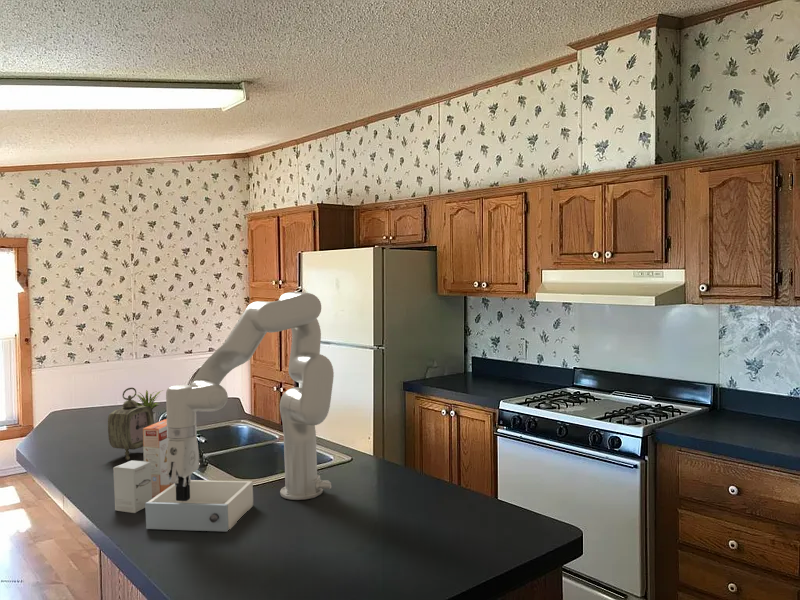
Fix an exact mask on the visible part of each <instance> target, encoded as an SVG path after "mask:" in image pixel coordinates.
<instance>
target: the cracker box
mask: <svg viewBox="0 0 800 600" xmlns="http://www.w3.org/2000/svg"><path fill="white" fill-rule="evenodd" d="M142 449H143V451H142V453H143V461H145V462H151V481H152V498H154V497H155V496H157V495H158V494H160V493H161V492H163V491H164V490H165V489H167V488H168V487H170V486H171V485H173V484H174V483H171V477H169V476H168V474H167V449H168V439H167V418H164V419H162V420H159V421H158V422H155V424H152V425H150V426H148V427H145V428H143V447H142Z"/></svg>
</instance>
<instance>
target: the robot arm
mask: <svg viewBox="0 0 800 600" xmlns="http://www.w3.org/2000/svg"><path fill="white" fill-rule="evenodd" d="M321 312H322V303H321V301H320V298H319V297H318V296H316V295H315V294H313V293H310V292H302V291H288V292H284V293H283V294H281V295H280V297H279V298H278V300H275V301H264V300H258V301H253V302H252V303H250V304H248V306H247V307H246V308H245V310H244V311H243V313H242V314H241V315H240V318H239V319H238V320H237V323H236V324H235V325H234V327H233V329H232V330H231V331H230V333H229V335H228V336H227V338H226V339H225V341H224V342H223V343H222V344H221V346H219V347H218V348H217V349H216V350H215V351H214V352H213V354H211V355H210V356H209V357H208V358H207V359H206V360H205V361H204V362H203V364H202V365H201V366H200V368H199V369H198V371H197V372H196V374H195V375H194V377H193V379H192V380H191V382H190V384H177V385H176V384H175V385H172V386H169V387H168V388H167V389H166V392H165V400H166V401H165V403H166V404H165V406H166V409H165V410H166V419H167V439H168V449H167V474H168V476H169V477H171V483H175V486H176V500H177V501H187V500H189V499H190V482H191V480H192V479H191V476H192V474H193V473H195V472H196V471H198V470H199V468H200V453H199V452H200V451H199V444H198V437H197V412H216V411H219V410H221V409H223V408H224V407H225V406H226V404H227V402H228V398H229V396H228V393H227V390H226V389H225V388H224V387H223V386H222V385H220V384H221V382H223V380H224V378H225V377H226V376H227V375H228V374H229V373H230V372H231V371H232V370H234V369H235V368H237V367H240V366H242V365H243V364H245V363H247V362H248V361H249V360H250V359H251V358H252V357H253V355H254V354H255V352H256V351H257V348H258V347H259V346H260V345H261V342H262V341H263V339H264V338H265V335H266V334H267V333H272V334H273V333H278V332H282V331H287V330H291V346H290V353H289V361H288V362H289V363H288V369H287V370H288V376H289V377H290V379H292V380H293V381H294V382H296V383H298V384H300V385H301V384H302V385H301V387H300V386H297V387H291V388H288V389H287V390H286V391H284V392H283V394H282V396H281V398H280V401H279V411H280V412H279V413H280V417H281V418H280V419H281V422H282V429H283V431H282V432H283V452H284V453H283V454H284V455H283V457H284V481H285V482H284V483H285V485H284V487H282V488H281V489H280V491H279V494H280V496H281V497H282V498H283V499H285V500H286V499H287V500H291V501H300V500H301V501H302V500H309V499H314V498H316V497H318V496H321V495H322V494H323V492H324V490H331V489H332V482H330V480H322V479H321V475H318V459H317V455H318V454H317V453H318V452H317V433H316V431H317V430H316V426H317V425H320V424H322V423H323V422H324V421H325V419H327V417H328V414H329V412H330V409H331V400H332V393H333V384H334V376H335V375H334V373H335V372H334V367H333V365H332V362H331V360H330V359H329V358H328V357H327V356H326V355H323V354H321V340H322V332H321V326H320V323H319V320H318V318H319V316H320V315H321Z"/></svg>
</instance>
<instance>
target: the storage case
mask: <svg viewBox="0 0 800 600" xmlns="http://www.w3.org/2000/svg"><path fill="white" fill-rule="evenodd" d="M253 484H254V483H253V481H252V480H251V481H250V480H249V481H248V480H210V479H209V480H208V479H207V480H206V479H205V480H204V479H200V480H199V479H191V482H190V499H189V500H187V501H177V500H176V486H175V483H174V484H173V485H171V486H170V487H168V488H167V489H165V490H164V491H163V492H161V493H160V494H158V495H157V496H155V497H152V499H151V500H150V501H148V502H167V503H205V504H227V508H228V530H229V529H230V530H231V529H232V528H233V527H234V526H235V525H236V524H237V523H238V522H239V521H240V520H241V519H242V518H243V517H244V516H245V515H246V514H247V513H248V512H249V511H250V510H251V508H252V507H254V490H253V489H254V487H253ZM247 511H248V512H247ZM246 512H247V513H246ZM245 513H246V514H245ZM244 514H245V515H244ZM243 515H244V516H243ZM242 516H243V517H242ZM241 517H242V518H241ZM240 518H241V519H240ZM239 519H240V520H239ZM238 520H239V521H238ZM237 521H238V522H237ZM230 530H229V531H230Z"/></svg>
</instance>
